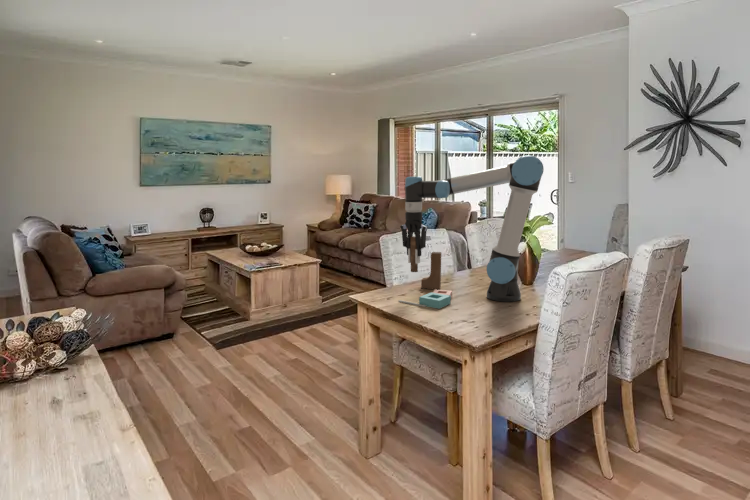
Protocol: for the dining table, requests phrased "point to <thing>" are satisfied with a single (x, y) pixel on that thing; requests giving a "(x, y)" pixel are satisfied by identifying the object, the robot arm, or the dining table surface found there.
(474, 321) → the dining table surface
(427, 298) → the teal bead
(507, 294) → the robot arm
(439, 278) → the wooden block
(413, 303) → the grey cord
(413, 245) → the brown square post
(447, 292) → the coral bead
